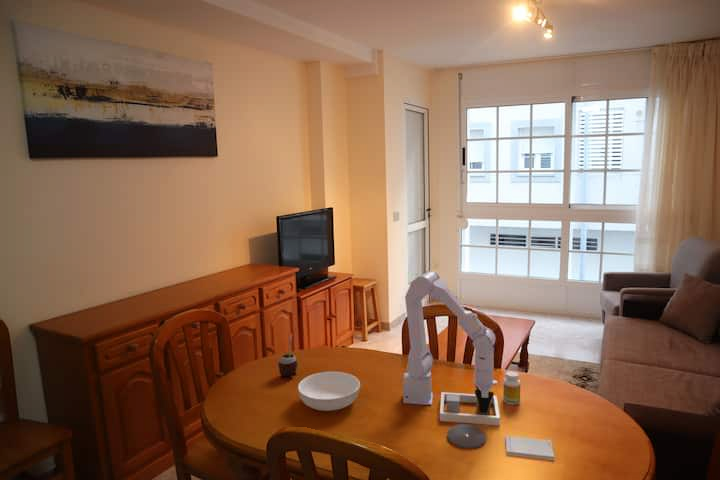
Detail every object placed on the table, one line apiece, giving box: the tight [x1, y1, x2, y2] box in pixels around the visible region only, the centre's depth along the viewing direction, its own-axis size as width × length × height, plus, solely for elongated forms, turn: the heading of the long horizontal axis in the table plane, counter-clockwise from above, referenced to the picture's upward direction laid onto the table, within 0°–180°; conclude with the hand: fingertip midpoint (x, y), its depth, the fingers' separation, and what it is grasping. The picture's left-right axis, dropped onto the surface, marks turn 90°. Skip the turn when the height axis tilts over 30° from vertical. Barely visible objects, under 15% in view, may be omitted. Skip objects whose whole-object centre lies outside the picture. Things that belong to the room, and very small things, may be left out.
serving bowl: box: [297, 371, 361, 412], centre depth 165 cm, size 21×21×7 cm
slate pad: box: [446, 423, 487, 450], centre depth 143 cm, size 11×11×1 cm
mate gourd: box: [278, 333, 298, 380], centre depth 186 cm, size 8×8×15 cm
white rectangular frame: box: [439, 391, 501, 426], centre depth 157 cm, size 18×14×2 cm
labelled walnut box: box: [476, 399, 491, 416], centre depth 156 cm, size 4×4×6 cm
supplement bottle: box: [502, 370, 521, 406], centre depth 163 cm, size 5×5×10 cm
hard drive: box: [504, 435, 556, 461], centre depth 137 cm, size 2×8×12 cm
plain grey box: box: [446, 394, 461, 413], centre depth 156 cm, size 4×4×6 cm
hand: (483, 408), depth 156 cm, fingers closed on labelled walnut box, 4 cm apart
